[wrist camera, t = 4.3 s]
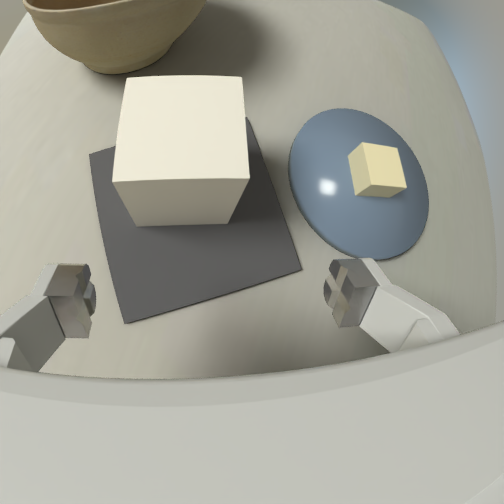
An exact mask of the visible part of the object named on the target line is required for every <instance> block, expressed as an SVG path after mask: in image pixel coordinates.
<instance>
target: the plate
mask: <svg viewBox="0 0 504 504" xmlns="http://www.w3.org/2000/svg"><path fill="white" fill-rule="evenodd" d="M362 142H364V143H371V144H377V145H383V146H389V147H395V148H397V149H398V153H399V157H400V161H401V165H402V169H403V173H404V177H405V182H406V186H407V188H406V189H404V190H402V191H400V192H399V193H397V194H395V195H394V196H392V197H390V198H387V197H372V196H355V191H354V186H353V180H352V175H351V170H350V164H349V159H348V155H349V154H350V153H351V152H352V151H353V150H354V149H355V148H356V147H358V146H359V145H360V144H361V143H362ZM288 175H289V181H290V187H291V190H292V193H293V197H294V199H295V201H296V203H297V206H298V208H299V210H300V211H301V213H302V215H303V217H304V218H305V220H306V221H307V222H308V224H309V225H310V226H311V228H312V229H313V230H314V231H315V232H316V233H317V234H318V235H319V236H320V237H321V238H322V239H323V240H324V241H325V242H327V243H328V244H329V245H331V246H332V247H334V248H335V249H336V250H338V251H340V252H342V253H344V254H346V255H348V256H351V257H354V258H357V259H358V258H372V259H373V260H374V261H375V260H383V259H387V258H390V257H394V256H397V255H399V254H401V253H403V252H405V251H406V250H408V249H409V248H410V247H412V246H413V245H414V243H415V242H416V241H417V240H418V238H419V237H420V235H421V234H422V232H423V229H424V227H425V224H426V221H427V216H428V207H429V199H428V190H427V184H426V180H425V177H424V174H423V171H422V169H421V166H420V164H419V162H418V160H417V158H416V156H415V155H414V153H413V152H412V150H411V149H410V147H409V146H408V145H407V143H406V142H405V141H404V140H403V139H402V138H401V136H400V135H399V134H398V133H396V132H395V131H394V130H393V129H392V128H391V127H389V126H388V125H387V124H385V123H384V122H382V121H381V120H379V119H377V118H376V117H374V116H372V115H369V114H367V113H364V112H361V111H357V110H353V109H331V110H327V111H324V112H321V113H319V114H317V115H315V116H314V117H312V118H311V119H310V120H308V121H307V122H306V124H305V125H304V126H303V127H302V129H301V130H300V132H299V133H298V135H297V136H296V138H295V139H294V142H293V144H292V146H291V150H290V154H289V161H288Z"/></svg>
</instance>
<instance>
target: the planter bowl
mask: <svg viewBox="0 0 504 504" xmlns="http://www.w3.org/2000/svg"><path fill="white" fill-rule="evenodd" d="M22 1H23V3H24V6H25V8H26V10H27V11H28V12H29V13H30V14H31V16H32V19H33V21H34V23H35V25H36V27H37V28H38V30H39V31H40V33H41V34H42V35H43V37H44V38H45V39H46V40H47V41H48V42H49V43H50V44H51V45H52V46H53V47H54V48H56V49H57V50H58V51H60V52H61V53H63V54H64V55H66V56H68V57H70V58H72V59H74V60H77V61H79V62H82V63H84V64H85V66H87V67H88V68H89V69H91V70H93V71H95V72H99V73H104V74H120V73H127V72H132V71H135V70H138V69H141V68H144V67H146V66H148V65H150V64H152V63H154V62H156V61H157V60H158V59H160V58H161V57H162V56H163V55H165V53H166V52H167V51H168V50H169V49H170V47H171V45H172V43H173V42H174V41H175V40H176V39H177V38H178V37H179V36H180V35H181V34H182V33H183V32H184V31H185V30H186V29H187V28H188V27H189V26H190V25H191V23H192V22H193V21H194V20H195V18H196V17H197V16H198V14H199V13H200V11H201V10H202V8H203V6H204V4H205V3H206V1H207V0H22Z"/></svg>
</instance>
